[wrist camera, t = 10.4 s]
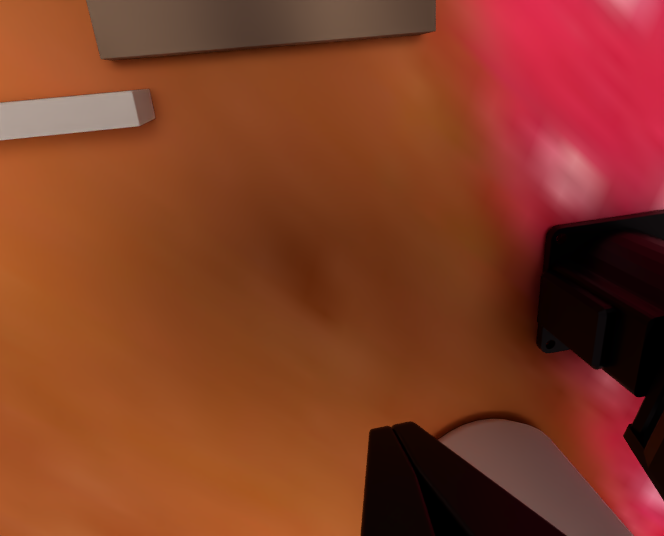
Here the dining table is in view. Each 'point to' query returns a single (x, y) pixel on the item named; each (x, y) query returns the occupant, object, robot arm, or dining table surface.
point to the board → (247, 24)
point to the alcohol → (535, 475)
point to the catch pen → (75, 114)
